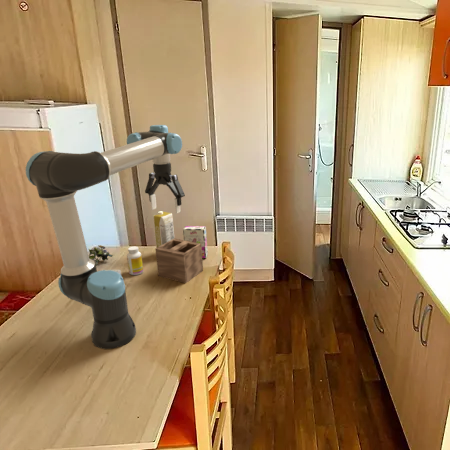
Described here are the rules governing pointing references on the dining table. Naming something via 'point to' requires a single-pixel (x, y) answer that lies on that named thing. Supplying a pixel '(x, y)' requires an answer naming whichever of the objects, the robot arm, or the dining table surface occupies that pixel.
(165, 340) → the dining table surface
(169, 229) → the juice carton
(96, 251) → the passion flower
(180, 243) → the wooden compartment box
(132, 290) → the dining table surface
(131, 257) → the supplement bottle
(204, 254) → the candy bar box
